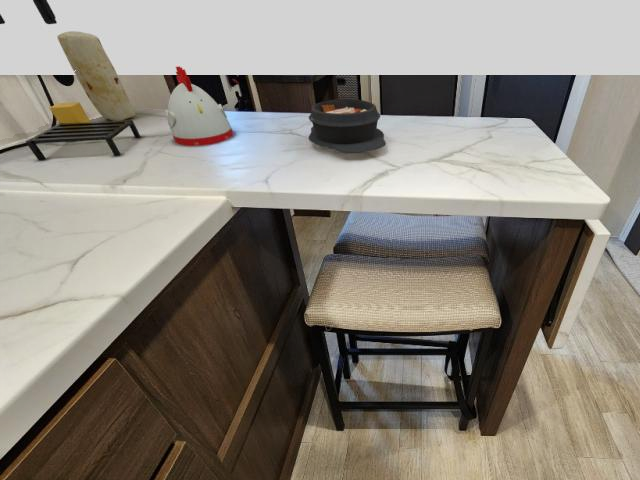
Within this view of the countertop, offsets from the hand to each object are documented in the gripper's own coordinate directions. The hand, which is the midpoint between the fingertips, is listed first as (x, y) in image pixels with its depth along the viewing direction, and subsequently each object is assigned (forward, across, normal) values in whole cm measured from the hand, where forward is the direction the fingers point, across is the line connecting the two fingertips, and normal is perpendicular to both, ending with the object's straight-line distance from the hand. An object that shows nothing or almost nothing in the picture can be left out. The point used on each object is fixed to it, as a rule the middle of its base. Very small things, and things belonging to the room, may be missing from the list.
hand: (25, 23), depth 70 cm
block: (+22, +2, 0) cm, 22 cm away
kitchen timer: (+23, -29, +7) cm, 37 cm away
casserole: (+23, -65, +19) cm, 71 cm away
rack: (+22, -5, +10) cm, 25 cm away
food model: (+22, -1, -16) cm, 27 cm away
